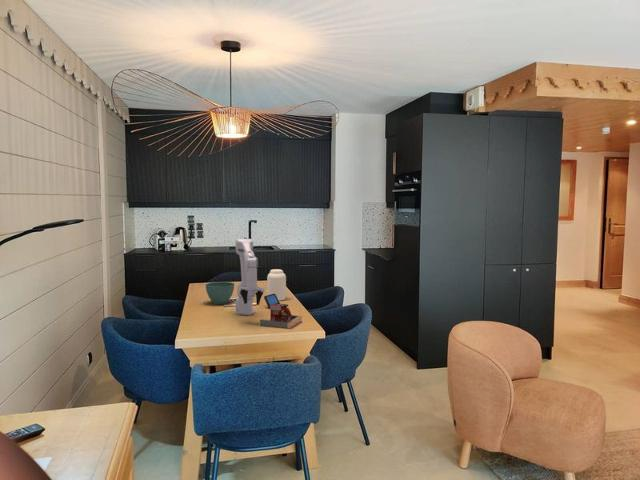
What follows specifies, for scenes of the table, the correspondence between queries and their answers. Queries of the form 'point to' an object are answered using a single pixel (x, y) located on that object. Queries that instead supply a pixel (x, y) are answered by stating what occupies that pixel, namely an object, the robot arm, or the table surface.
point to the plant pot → (220, 291)
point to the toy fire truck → (280, 313)
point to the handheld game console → (272, 300)
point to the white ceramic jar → (277, 284)
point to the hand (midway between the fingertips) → (251, 304)
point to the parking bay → (282, 322)
